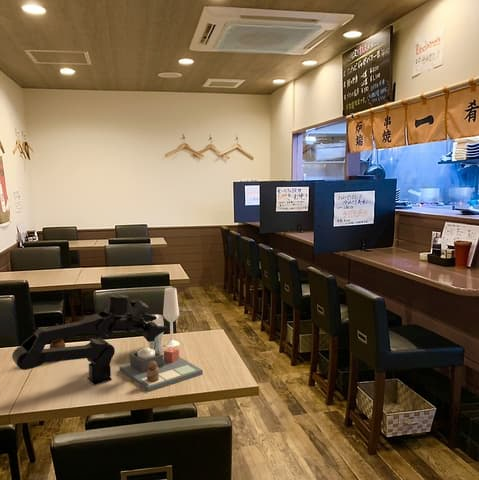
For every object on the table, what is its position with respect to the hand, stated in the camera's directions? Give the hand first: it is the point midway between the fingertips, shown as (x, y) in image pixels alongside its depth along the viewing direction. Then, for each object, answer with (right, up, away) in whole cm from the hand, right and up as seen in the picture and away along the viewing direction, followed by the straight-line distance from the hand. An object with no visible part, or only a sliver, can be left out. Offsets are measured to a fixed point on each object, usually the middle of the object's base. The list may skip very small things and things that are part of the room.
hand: (161, 323), depth 181 cm
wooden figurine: (-41, -15, +5) cm, 44 cm away
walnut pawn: (0, -17, -17) cm, 24 cm away
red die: (+4, -14, +1) cm, 15 cm away
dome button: (-5, -12, -5) cm, 14 cm away
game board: (+1, -17, -7) cm, 18 cm away
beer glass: (-4, -14, +12) cm, 19 cm away
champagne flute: (+1, -13, +21) cm, 25 cm away
